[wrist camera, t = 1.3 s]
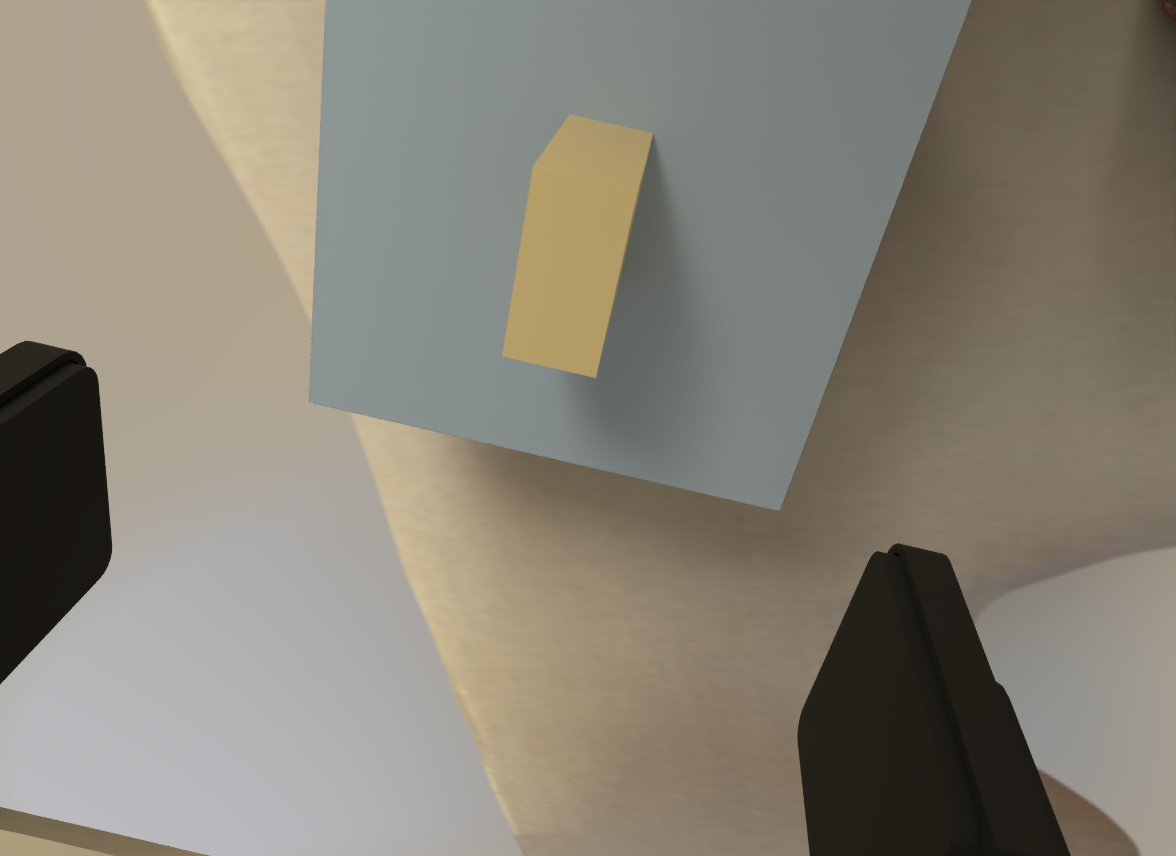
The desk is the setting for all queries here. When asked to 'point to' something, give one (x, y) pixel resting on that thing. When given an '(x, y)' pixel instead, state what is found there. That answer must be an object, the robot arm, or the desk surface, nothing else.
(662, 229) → the lid
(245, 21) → the desk surface
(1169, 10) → the supplement bottle
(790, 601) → the desk surface
